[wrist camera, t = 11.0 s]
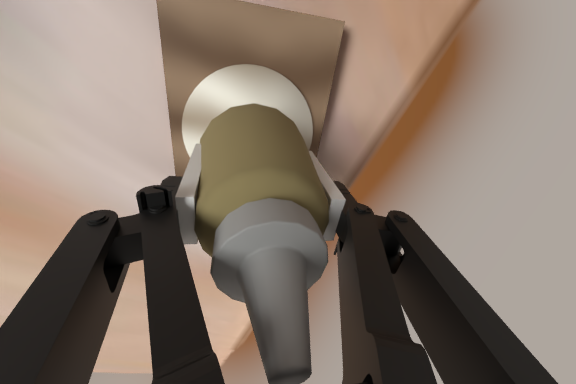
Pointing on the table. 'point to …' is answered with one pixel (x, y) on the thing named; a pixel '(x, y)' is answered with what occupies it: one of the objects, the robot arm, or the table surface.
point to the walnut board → (244, 66)
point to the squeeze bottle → (264, 229)
